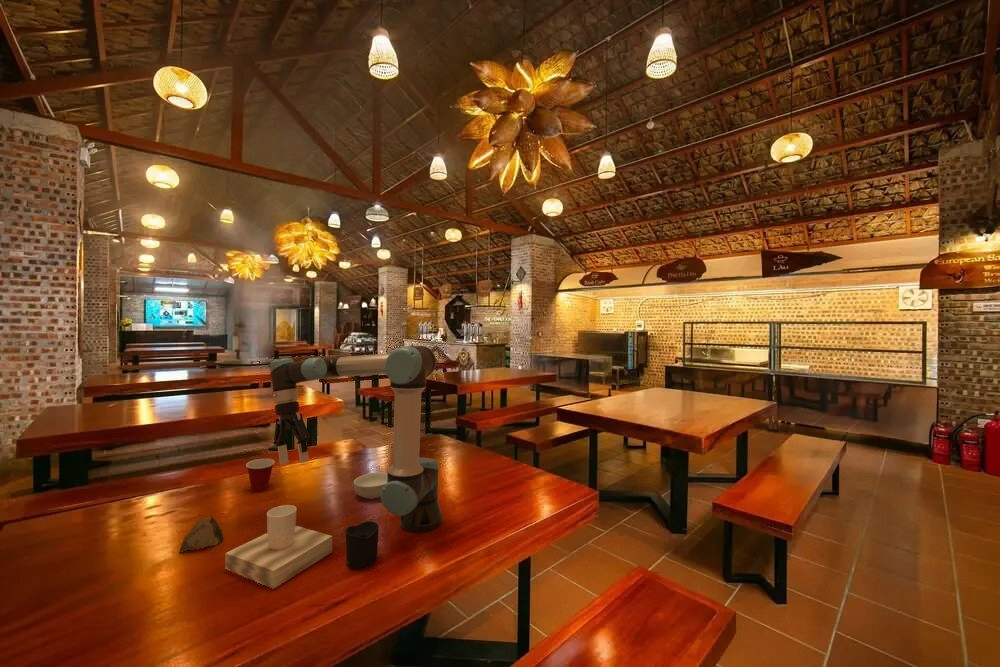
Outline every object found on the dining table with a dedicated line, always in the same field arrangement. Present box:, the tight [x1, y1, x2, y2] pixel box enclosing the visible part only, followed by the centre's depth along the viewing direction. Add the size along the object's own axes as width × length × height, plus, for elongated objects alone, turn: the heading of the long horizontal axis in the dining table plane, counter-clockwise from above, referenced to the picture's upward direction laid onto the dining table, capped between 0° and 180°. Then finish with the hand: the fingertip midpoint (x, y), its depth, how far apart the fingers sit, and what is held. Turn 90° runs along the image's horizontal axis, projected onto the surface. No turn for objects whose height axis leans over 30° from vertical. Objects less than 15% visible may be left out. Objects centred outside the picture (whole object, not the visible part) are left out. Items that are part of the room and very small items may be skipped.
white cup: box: [266, 504, 297, 550], centre depth 118 cm, size 8×8×10 cm
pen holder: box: [345, 520, 380, 570], centre depth 119 cm, size 9×9×10 cm
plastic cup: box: [245, 458, 276, 493], centre depth 171 cm, size 11×11×12 cm
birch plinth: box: [224, 525, 333, 590], centre depth 118 cm, size 20×20×5 cm
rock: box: [179, 516, 225, 553], centre depth 126 cm, size 11×9×10 cm
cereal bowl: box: [353, 471, 388, 499], centre depth 167 cm, size 17×17×7 cm
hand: (294, 463), depth 137 cm, fingers open, 13 cm apart
